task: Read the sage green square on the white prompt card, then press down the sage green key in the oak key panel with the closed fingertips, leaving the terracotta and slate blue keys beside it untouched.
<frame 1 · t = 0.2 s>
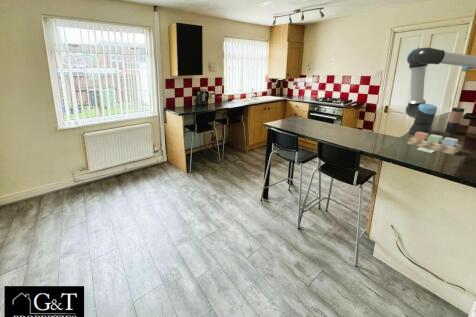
terracotta key: (420, 136, 170), point 6 cm above the countertop, slide at 0.0 cm
travel mug: (450, 132, 207), on the countertop
prompt card: (425, 150, 159), on the countertop
sage key: (434, 139, 164), point 6 cm above the countertop, slide at 0.0 cm
key panel: (432, 147, 166), on the countertop
slate key: (449, 142, 158), point 5 cm above the countertop, slide at 0.0 cm
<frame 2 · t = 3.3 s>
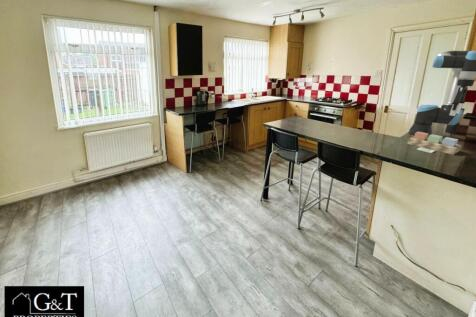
hand: (454, 114, 155), 23 cm above the countertop, tool pointing down, fingers open, 13 cm apart
nothing on the countertop moved.
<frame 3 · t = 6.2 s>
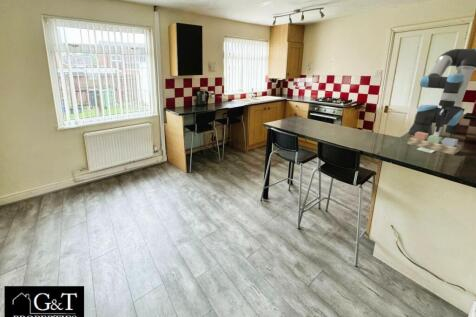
hand: (435, 136, 163), 8 cm above the countertop, tool pointing down, fingers closed
sage key: (434, 140, 164), point 5 cm above the countertop, slide at 0.5 cm, touching gripper
everything else where it was.
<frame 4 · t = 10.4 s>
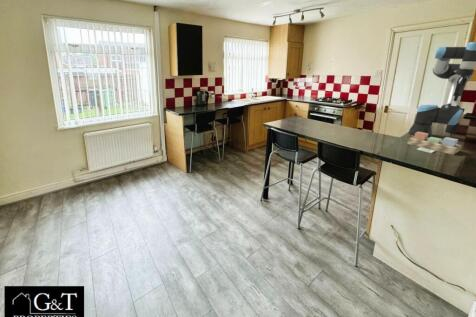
hand: (453, 105, 166), 26 cm above the countertop, tool pointing down, fingers closed
sage key: (433, 142, 164), point 4 cm above the countertop, slide at 1.8 cm
everything else where it was.
at the end: sage key slide at 1.8 cm; terracotta key slide at 0.0 cm; slate key slide at 0.0 cm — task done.
